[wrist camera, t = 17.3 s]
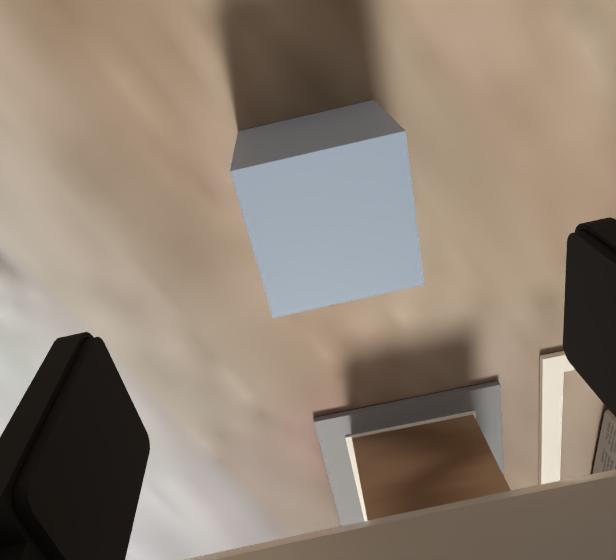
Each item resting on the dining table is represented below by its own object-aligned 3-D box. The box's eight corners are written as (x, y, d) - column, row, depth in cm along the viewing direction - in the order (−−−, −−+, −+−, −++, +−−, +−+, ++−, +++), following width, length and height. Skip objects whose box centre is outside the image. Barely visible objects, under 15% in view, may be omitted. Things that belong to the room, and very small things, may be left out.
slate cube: (373, 99, 19) (405, 130, 15) (392, 225, 22) (424, 284, 17) (238, 130, 19) (230, 171, 15) (271, 252, 22) (272, 317, 17)
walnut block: (473, 414, 26) (515, 500, 22) (478, 497, 29) (516, 588, 24) (351, 438, 26) (368, 527, 22) (368, 518, 29) (387, 611, 25)
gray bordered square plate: (498, 380, 26) (501, 385, 25) (503, 505, 30) (505, 511, 30) (313, 417, 26) (314, 423, 26) (344, 535, 30) (345, 542, 30)
